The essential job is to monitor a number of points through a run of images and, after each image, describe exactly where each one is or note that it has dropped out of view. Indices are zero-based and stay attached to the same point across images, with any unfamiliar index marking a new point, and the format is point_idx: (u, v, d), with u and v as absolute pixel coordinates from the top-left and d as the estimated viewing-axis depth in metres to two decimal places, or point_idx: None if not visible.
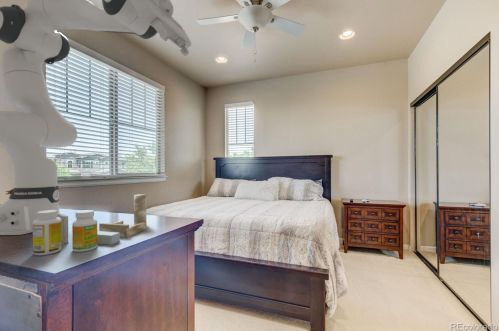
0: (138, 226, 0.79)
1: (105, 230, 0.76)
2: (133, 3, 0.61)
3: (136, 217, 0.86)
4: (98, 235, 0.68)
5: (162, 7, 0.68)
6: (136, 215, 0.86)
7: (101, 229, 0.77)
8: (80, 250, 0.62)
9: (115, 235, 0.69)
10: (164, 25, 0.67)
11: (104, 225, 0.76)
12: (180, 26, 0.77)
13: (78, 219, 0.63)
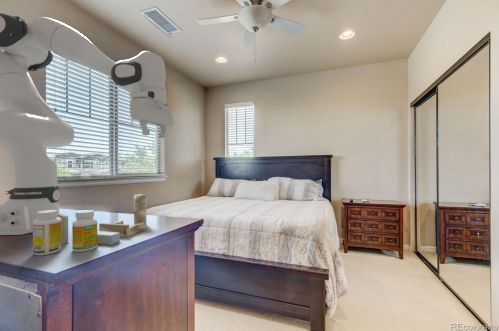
0: (138, 226, 0.79)
1: (105, 230, 0.76)
2: (131, 106, 0.81)
3: (136, 217, 0.86)
4: (98, 235, 0.68)
5: (155, 105, 0.88)
6: (136, 215, 0.86)
7: (101, 229, 0.77)
8: (80, 250, 0.62)
9: (115, 235, 0.69)
10: None
11: (104, 225, 0.76)
12: (169, 111, 0.97)
13: (78, 219, 0.63)
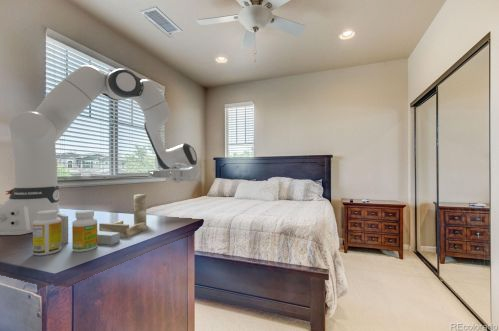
0: (138, 226, 0.79)
1: (105, 230, 0.76)
2: (193, 169, 1.05)
3: (136, 217, 0.86)
4: (98, 235, 0.68)
5: (179, 178, 1.09)
6: (136, 215, 0.86)
7: (101, 229, 0.77)
8: (80, 250, 0.62)
9: (115, 235, 0.69)
10: None
11: (104, 225, 0.76)
12: None
13: (78, 219, 0.63)
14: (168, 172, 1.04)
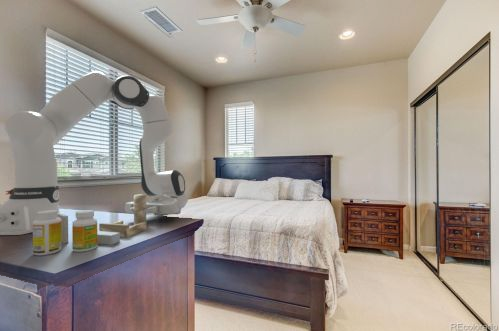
0: (138, 226, 0.79)
1: (105, 230, 0.76)
2: (177, 203, 0.93)
3: (136, 217, 0.86)
4: (98, 235, 0.68)
5: None
6: (136, 215, 0.86)
7: (101, 229, 0.77)
8: (80, 250, 0.62)
9: (115, 235, 0.69)
10: None
11: (104, 225, 0.76)
12: None
13: (78, 219, 0.63)
14: (148, 206, 0.92)
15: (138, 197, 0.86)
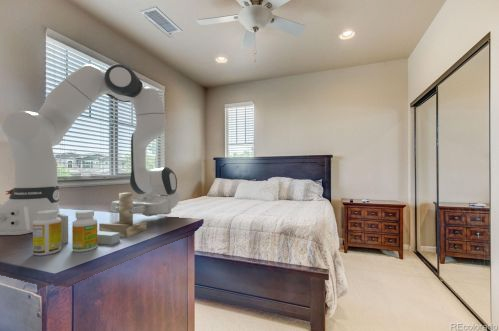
0: (138, 226, 0.79)
1: (105, 230, 0.76)
2: (166, 202, 0.87)
3: (121, 217, 0.79)
4: (98, 235, 0.68)
5: None
6: (121, 215, 0.79)
7: (101, 229, 0.77)
8: (80, 250, 0.62)
9: (115, 235, 0.69)
10: None
11: (104, 225, 0.76)
12: None
13: (78, 219, 0.63)
14: (135, 205, 0.85)
15: (123, 195, 0.79)
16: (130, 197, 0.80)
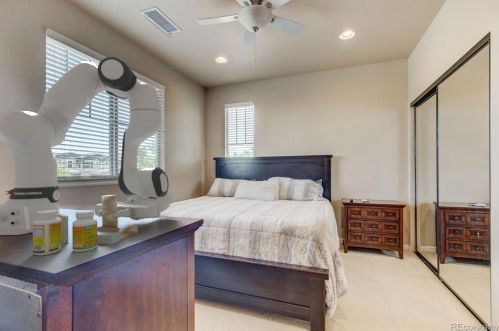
0: (129, 229, 0.76)
1: None
2: (154, 205, 0.80)
3: (104, 222, 0.73)
4: (98, 235, 0.68)
5: None
6: (104, 219, 0.73)
7: None
8: (80, 250, 0.62)
9: (115, 235, 0.69)
10: None
11: None
12: None
13: (78, 219, 0.63)
14: (121, 209, 0.79)
15: (106, 198, 0.72)
16: (114, 200, 0.74)
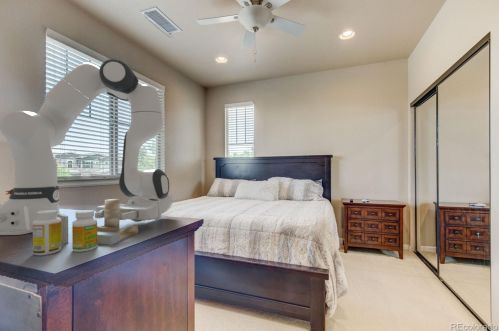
0: (129, 229, 0.76)
1: None
2: (155, 207, 0.80)
3: (106, 226, 0.73)
4: (98, 235, 0.68)
5: None
6: (106, 223, 0.73)
7: None
8: (80, 250, 0.62)
9: (115, 235, 0.69)
10: None
11: None
12: None
13: (78, 219, 0.63)
14: (122, 211, 0.79)
15: (109, 202, 0.73)
16: (117, 204, 0.75)
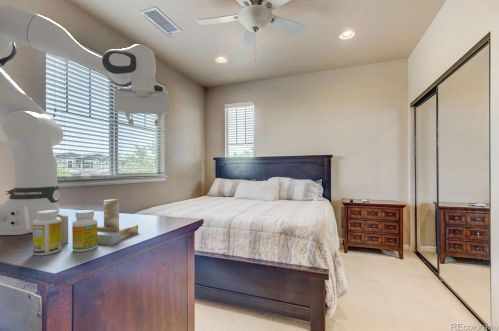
0: (129, 229, 0.76)
1: None
2: (169, 101, 0.96)
3: (106, 226, 0.73)
4: (98, 235, 0.68)
5: None
6: (106, 224, 0.73)
7: None
8: (80, 250, 0.62)
9: (115, 235, 0.69)
10: None
11: None
12: None
13: (78, 219, 0.63)
14: None
15: (108, 203, 0.73)
16: (116, 204, 0.74)
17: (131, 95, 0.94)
